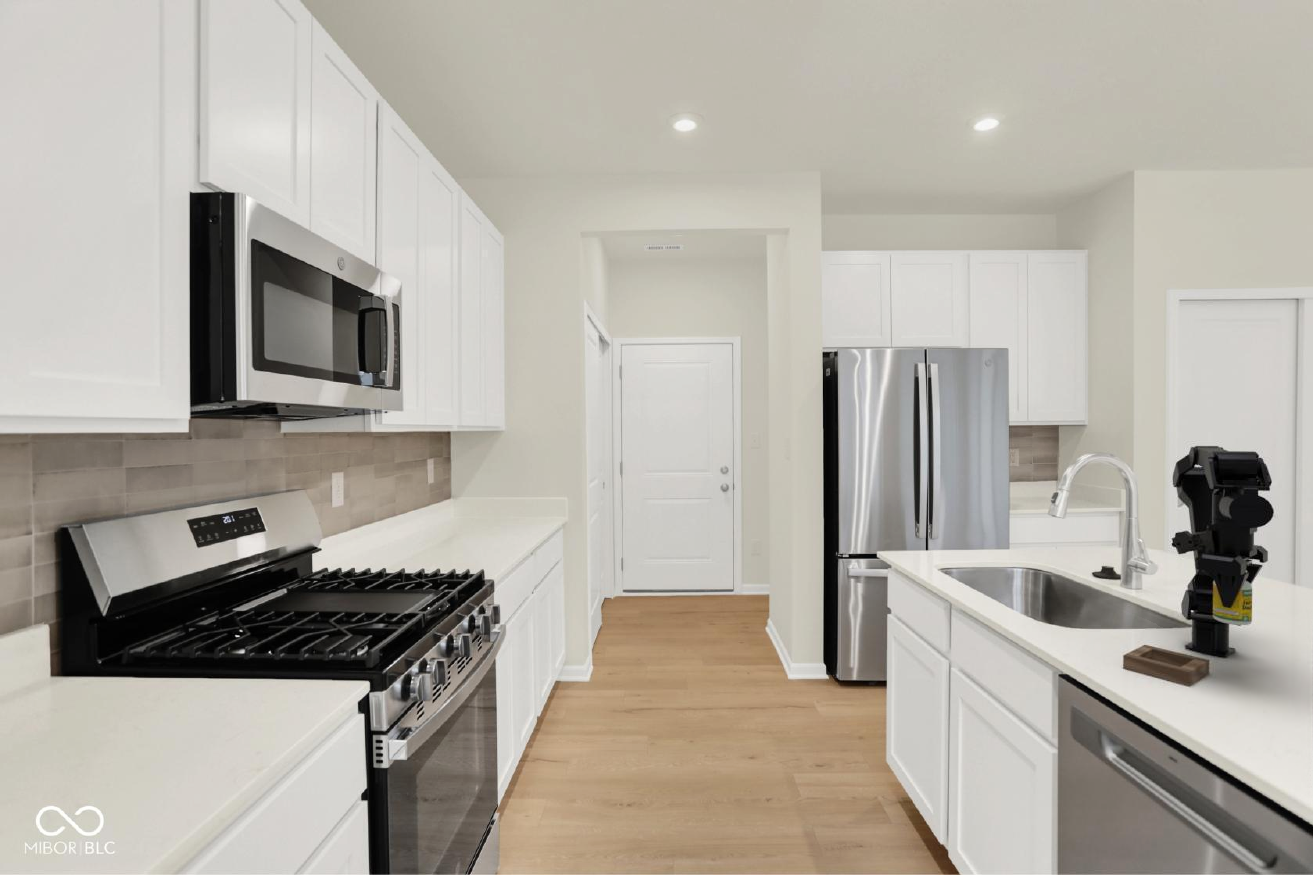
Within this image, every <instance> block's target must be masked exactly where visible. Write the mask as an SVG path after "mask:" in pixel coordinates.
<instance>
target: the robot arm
mask: <svg viewBox="0 0 1313 875" xmlns="http://www.w3.org/2000/svg"><path fill="white" fill-rule="evenodd" d="M1264 461H1265V460H1264V459H1263V458H1262V457H1260V455H1259V453H1257V452H1256V451H1247V450H1246V451H1244V450H1243V451H1240V450H1239V451H1237V450H1234V451H1233V450H1232V451H1230V450H1227V449H1224V447H1221V446H1218V445H1195V446H1191V447H1190V448H1189V452H1188V454H1187V455H1185V456H1184V457H1182V458H1180V459H1179V460H1178V461H1176V463H1175V465H1174V466H1175V467H1174V470H1173V473H1172V485H1173V487H1174V488H1176V493H1177V494H1176V495H1177V498H1178V499H1179V501H1181V502H1182V503H1183V504H1184V505H1185V506H1186V507H1187V509H1188V513H1189V514H1188V515H1189V522H1190V531H1191V532H1190V531H1189V530H1184V531H1178V532H1175V533H1174V537H1172V538H1171V541H1172V543H1171V546H1172V547H1173V548H1175V549H1176V552H1177V554H1178V555H1183V554H1187V552H1188V553H1190V552H1193V559H1194V560H1193V561H1194V569H1195V570H1194V571H1195V574H1194V576H1193V577H1192V578H1191V579H1190V581H1189V583H1188V584H1187V589H1186V590H1185V592H1184V595H1183V598H1182V600H1181V602H1180V604H1181V605H1180V606H1181V615H1182V616H1183V617H1184V618H1185V620H1187V621H1191V642H1189V643H1187V644H1185V645H1184V648H1185V649H1187V650H1192V651H1196V652H1200V653H1203V654H1208V655H1213V656H1217V657H1222V658H1227V657H1229V656H1231V654H1234V653H1235V652H1236V648H1234V647H1230V624H1228V623H1223V622H1220V621H1218V620H1216V619H1214V618H1213V581H1215V584H1216V587H1217V590H1218V593H1219V596H1220V599H1221V602H1222V605H1223V607H1227V608H1231V607H1232V605H1233V604H1234V602H1235V600H1236V598H1237V596H1238V594H1239V592H1240V590H1241V588H1242V586H1243V584H1244V582H1245V581H1247V582H1249V583H1250V584H1251V585H1252V584H1253V582H1254V580H1255V578H1256V577H1257V575H1258V574H1259V572H1260V571H1261V569H1262V568H1263V564H1265V563H1267V562H1268V561H1269V558H1268V557H1269V555H1268V554H1269V552H1268V550H1267V549H1266V548H1265V547H1264V546H1262V545H1257V544H1255V533H1257V532H1258V528H1261V527H1264V526H1266V525H1267V524H1269V523H1270V521H1272V520H1273V517H1274V513H1275V512H1274V511H1275V510H1274V508H1273V506H1272V504H1271V502H1270V501H1269V500H1268V499H1266V498H1265V497H1263V496H1261V495H1259V492H1260V491H1261V492H1270V491H1271V486H1272V483H1273V480H1272V478H1271V477H1272V476H1271V474H1270V471H1269V469H1268V466H1267V463H1265V462H1264ZM1253 560H1256V561H1259V563H1262V564H1259V563H1258V564H1257V563H1253ZM1246 570H1247V572H1245V571H1246ZM1247 576H1248V577H1247ZM1246 578H1247V579H1246ZM1232 625H1233V626H1236V625H1235V624H1232ZM1237 626H1238V627H1239V626H1240V627H1241V626H1242V625H1237Z"/></svg>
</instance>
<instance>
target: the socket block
mask: <svg viewBox="0 0 1313 875" xmlns="http://www.w3.org/2000/svg"><path fill="white" fill-rule="evenodd" d="M1122 658H1123V660H1122V663H1123V664H1122V666H1123V667H1122V668H1123V669H1125V670H1128V671H1132V672H1135V673H1139V674H1142V673H1144V674H1143V675H1146V674H1147V675H1146V676H1149V675H1151V676H1150V677H1152V678H1153V677H1154V678H1157V677H1160V678H1162V679H1161V680H1164V679H1165V681H1168V680H1171V681H1174V682H1173V683H1175V682H1176V683H1175V684H1179V685H1182V684H1184V685H1183V686H1187V687H1190V686H1192V685H1194V684H1195V683H1197V682H1199V681H1200V680H1201V679H1203V678H1205V677H1206V676H1208V675H1209V674H1210V659H1207V658H1203V657H1199V656H1195V655H1189V654H1187V653H1186V654H1185V653H1182V652H1181V653H1180V652H1177V651H1173V650H1169V649H1165V648H1161V647H1156V646H1152V645H1149V644H1143V645H1141V646H1140V647H1137V648H1135V649H1134V650H1131V651H1129V652H1127V653H1125V654H1123V656H1122ZM1160 678H1159V679H1160ZM1171 681H1170V682H1171Z"/></svg>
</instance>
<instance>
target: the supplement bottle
mask: <svg viewBox="0 0 1313 875" xmlns="http://www.w3.org/2000/svg"><path fill="white" fill-rule="evenodd" d="M1245 572H1247V570H1246V571H1245ZM1247 577H1248V576H1247ZM1246 579H1247V578H1246ZM1213 618H1214V619H1216V620H1218V621H1220V622H1223V623H1228V624H1229V625H1233V624H1235V625H1234V626H1238V625H1241V626H1250V625H1251V624H1252V622H1253V585H1252V584H1250V583H1249V582H1247V581H1245V582H1244V584H1243V586H1242V588H1241V590H1240V592H1239V594H1238V596H1237V598H1236V600H1235V602H1234V604H1233V605H1232V607H1231V608H1227V607H1223V605H1222V602H1221V599H1220V596H1219V593H1218V590H1217V587H1216V584H1215V581H1213Z"/></svg>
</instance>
